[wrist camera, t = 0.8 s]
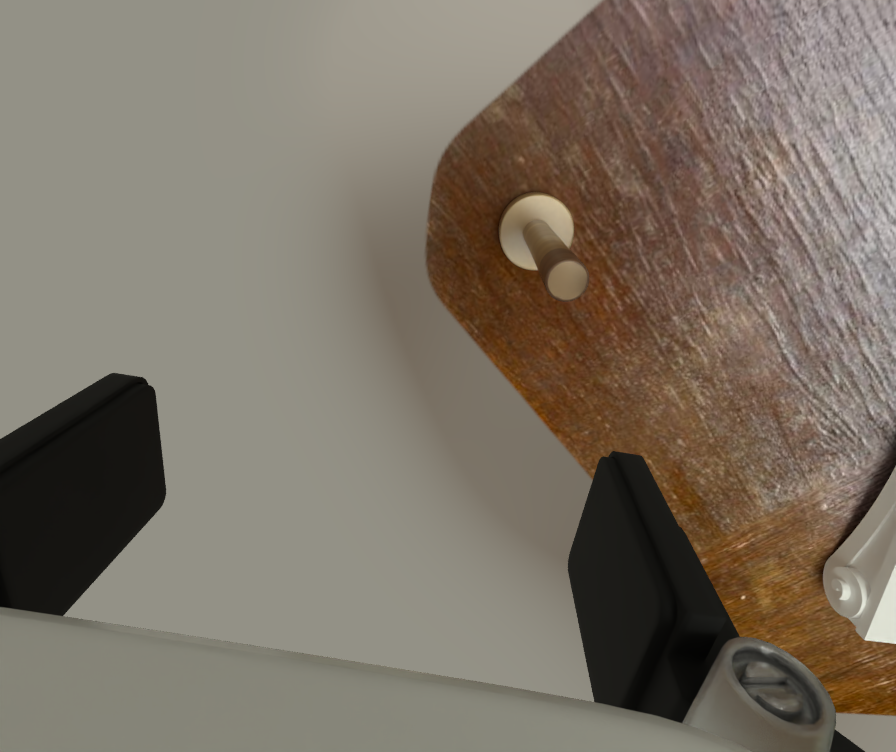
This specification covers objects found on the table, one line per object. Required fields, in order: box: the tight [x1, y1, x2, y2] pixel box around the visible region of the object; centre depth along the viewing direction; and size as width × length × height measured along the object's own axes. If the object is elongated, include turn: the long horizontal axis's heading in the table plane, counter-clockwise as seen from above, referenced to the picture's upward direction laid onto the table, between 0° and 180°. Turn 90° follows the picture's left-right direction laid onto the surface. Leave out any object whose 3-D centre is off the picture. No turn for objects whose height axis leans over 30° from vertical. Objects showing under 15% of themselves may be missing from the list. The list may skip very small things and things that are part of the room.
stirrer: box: [499, 192, 589, 302], centre depth 25 cm, size 4×4×14 cm
